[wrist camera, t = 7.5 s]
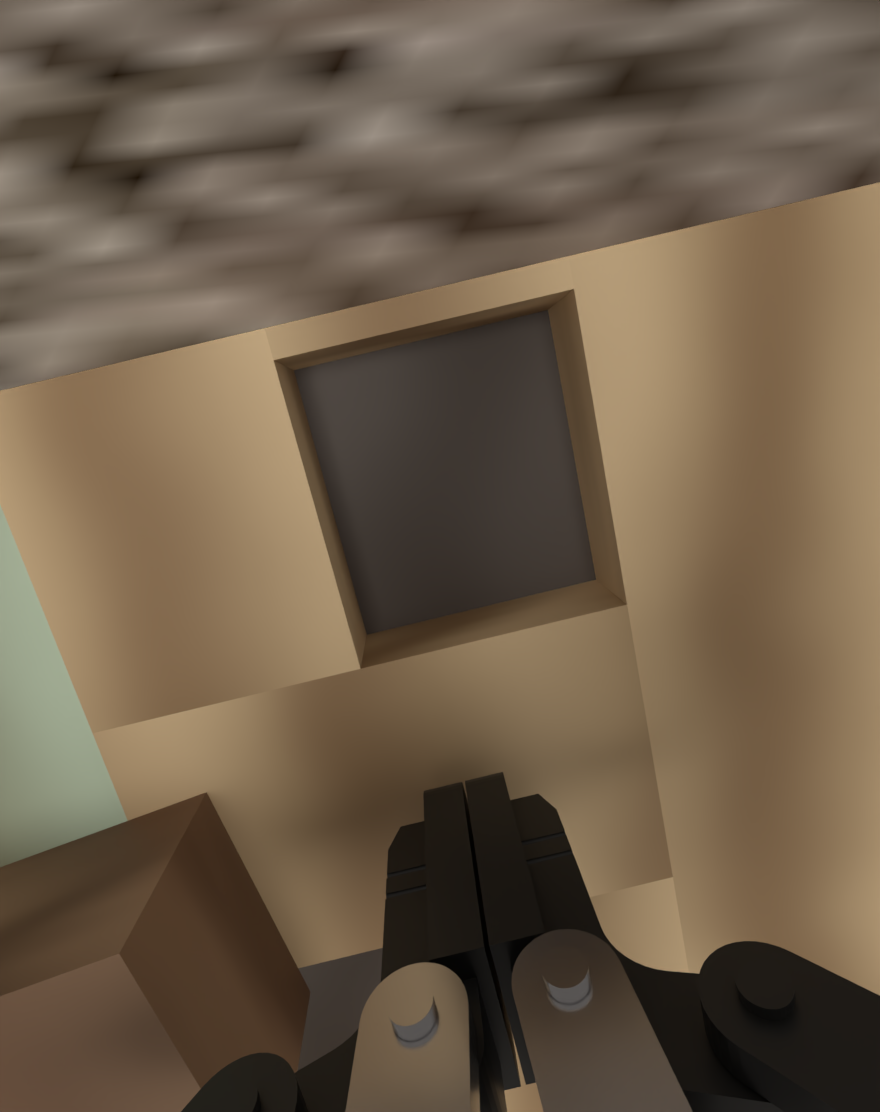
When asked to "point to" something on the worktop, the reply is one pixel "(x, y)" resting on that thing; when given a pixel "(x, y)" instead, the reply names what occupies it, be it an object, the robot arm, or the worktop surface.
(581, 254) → the board
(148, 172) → the worktop surface
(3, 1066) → the block
